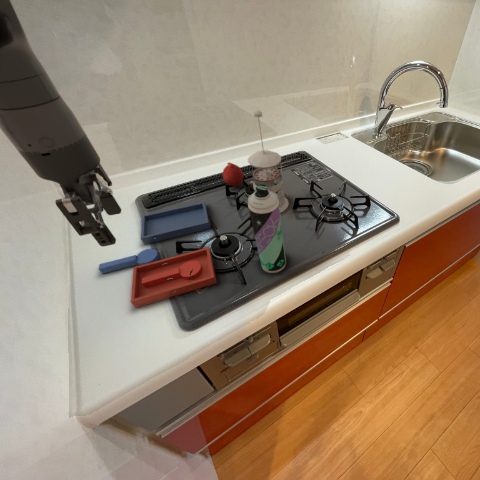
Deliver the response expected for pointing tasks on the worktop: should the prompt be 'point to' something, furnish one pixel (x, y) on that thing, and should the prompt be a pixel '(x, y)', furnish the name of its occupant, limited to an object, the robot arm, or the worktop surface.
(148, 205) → the worktop surface
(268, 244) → the spray can
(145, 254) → the blue spoon
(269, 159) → the french press
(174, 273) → the red spoon
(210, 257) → the red tray
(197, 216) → the blue tray
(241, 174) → the onion
